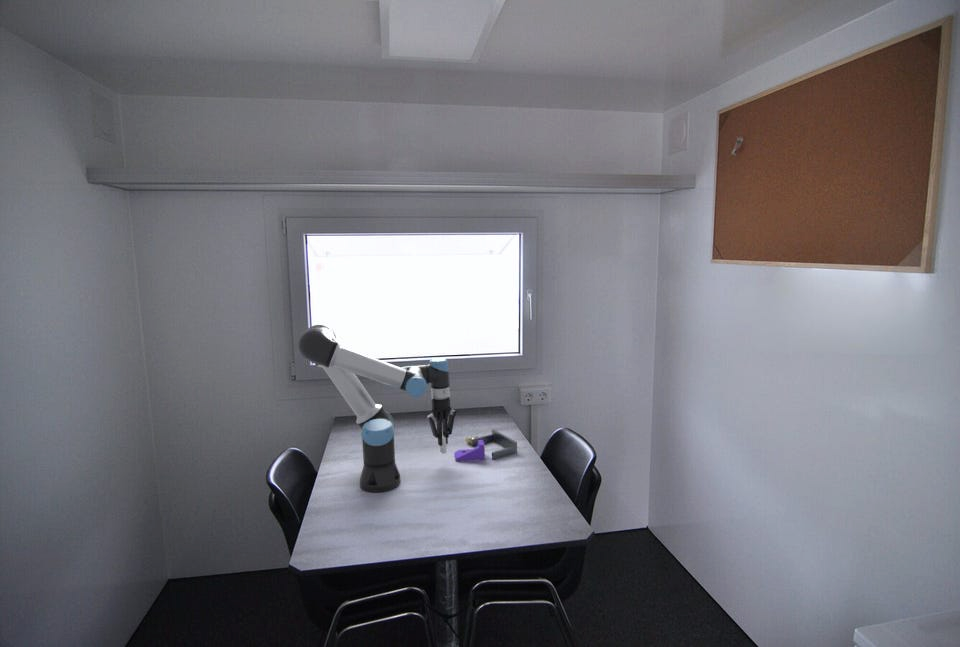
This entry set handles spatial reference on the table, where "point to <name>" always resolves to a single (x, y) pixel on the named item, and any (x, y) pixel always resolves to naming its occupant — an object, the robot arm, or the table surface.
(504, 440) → the dock
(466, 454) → the bracket
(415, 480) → the table surface
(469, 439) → the brass key
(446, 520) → the table surface
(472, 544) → the table surface
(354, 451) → the table surface
